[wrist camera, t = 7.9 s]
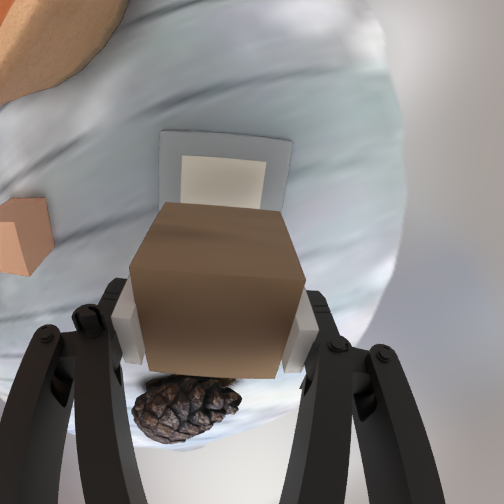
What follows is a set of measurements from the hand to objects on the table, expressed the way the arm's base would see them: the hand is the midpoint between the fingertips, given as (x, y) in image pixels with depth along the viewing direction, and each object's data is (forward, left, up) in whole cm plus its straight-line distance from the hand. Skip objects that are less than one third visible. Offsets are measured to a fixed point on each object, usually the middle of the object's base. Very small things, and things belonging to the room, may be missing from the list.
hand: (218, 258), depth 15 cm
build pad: (0, 0, -11) cm, 11 cm away
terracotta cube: (-4, +22, -11) cm, 25 cm away
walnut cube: (0, 0, 0) cm, 0 cm away
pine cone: (-31, +4, -11) cm, 33 cm away
